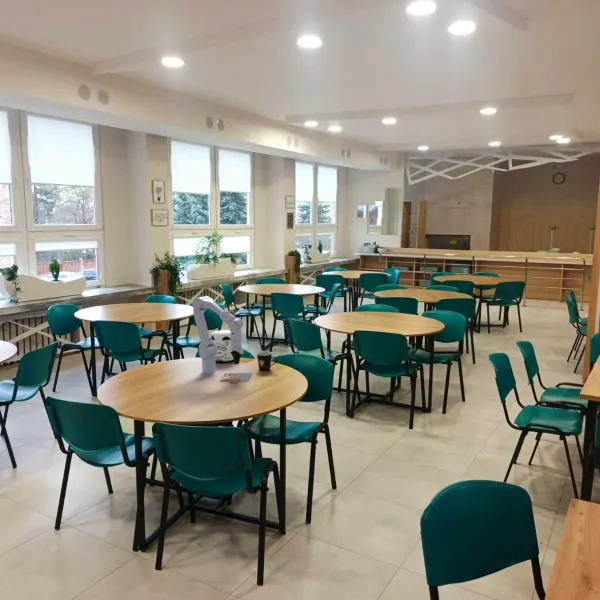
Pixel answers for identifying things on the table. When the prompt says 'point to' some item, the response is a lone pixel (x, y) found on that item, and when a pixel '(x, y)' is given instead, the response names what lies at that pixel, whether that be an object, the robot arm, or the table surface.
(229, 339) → the milk container
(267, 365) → the coffee mug
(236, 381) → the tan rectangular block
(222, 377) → the turner
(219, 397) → the table surface
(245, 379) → the mat
